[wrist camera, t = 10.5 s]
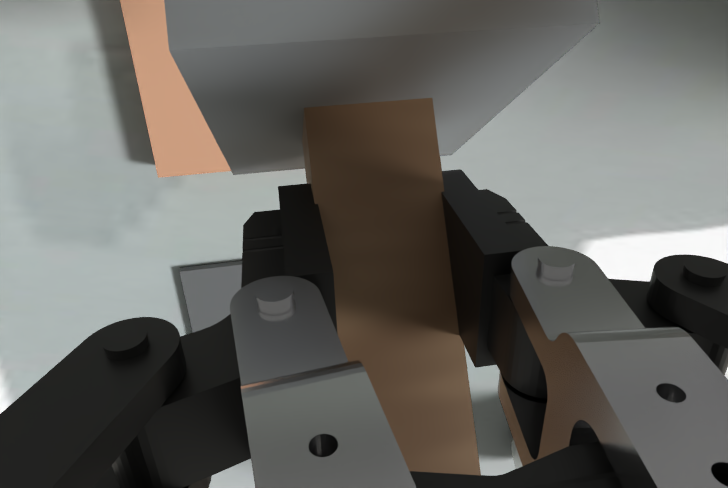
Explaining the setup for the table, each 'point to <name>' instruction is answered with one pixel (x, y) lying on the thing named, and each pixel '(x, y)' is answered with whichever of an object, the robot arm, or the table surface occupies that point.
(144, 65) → the tile
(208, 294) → the tool mat
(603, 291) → the robot arm
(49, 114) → the table surface
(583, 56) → the table surface
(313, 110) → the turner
